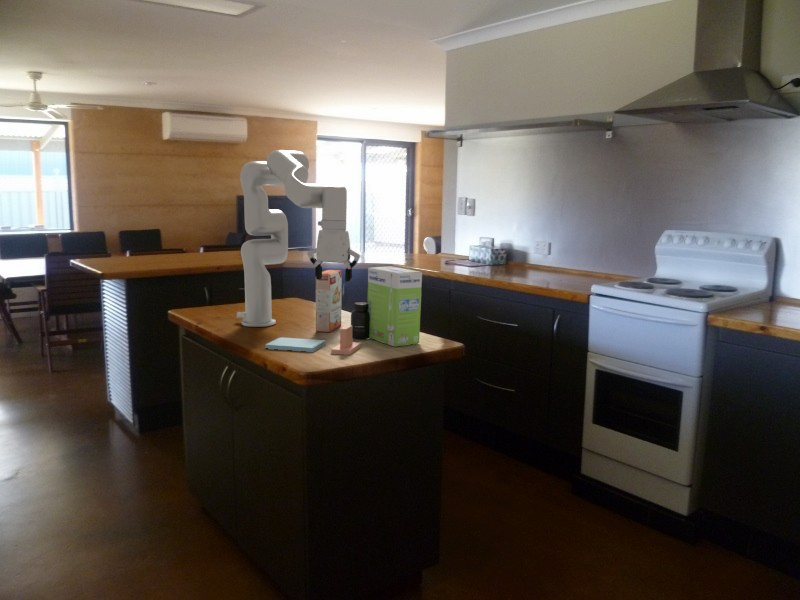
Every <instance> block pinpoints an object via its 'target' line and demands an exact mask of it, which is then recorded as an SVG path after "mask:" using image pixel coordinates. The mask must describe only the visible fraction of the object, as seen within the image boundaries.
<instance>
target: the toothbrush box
mask: <svg viewBox="0 0 800 600" xmlns="http://www.w3.org/2000/svg"><path fill="white" fill-rule="evenodd" d="M367 274H368V275H367V300H366V301H367V302H366V303H368V312H369V314H370V326H369V337H370V338H369V339H372V340H375V341H377V342H380V343H382V344H386V345H389V346H391V347H395V348H396V347H405V346H412V345H411V344H413V345H418V343H419V344H420V332H421V310H422V308H421V305H422V284H423V283H422V282H423V272H422V271H418V270H414V269H408V268H402V267H397V266H392V265H390V266H389V265H388V266H375V267H373V266H372V267H368V268H367Z"/></svg>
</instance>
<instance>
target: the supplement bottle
mask: <svg viewBox="0 0 800 600" xmlns="http://www.w3.org/2000/svg"><path fill="white" fill-rule="evenodd" d="M350 325H352V340H360V341H361V340H362V341H363V340H369V339H371V338H370V337H369V326H370V314H369V312H368V303H367V302H365V301H361V302H354V303H353V310H352V311H351V313H350Z"/></svg>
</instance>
